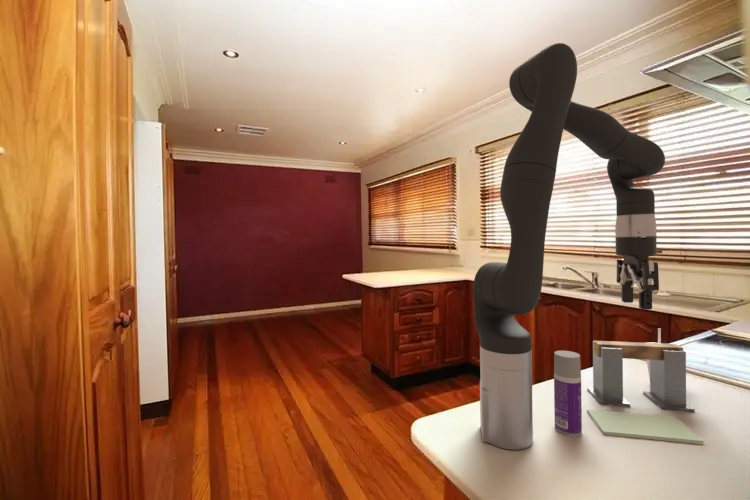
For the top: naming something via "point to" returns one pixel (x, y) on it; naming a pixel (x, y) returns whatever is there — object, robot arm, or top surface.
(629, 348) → the rail
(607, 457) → the top surface
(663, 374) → the post right
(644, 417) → the mat
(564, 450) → the top surface
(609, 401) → the post left
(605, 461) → the top surface
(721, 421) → the top surface
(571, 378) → the container
